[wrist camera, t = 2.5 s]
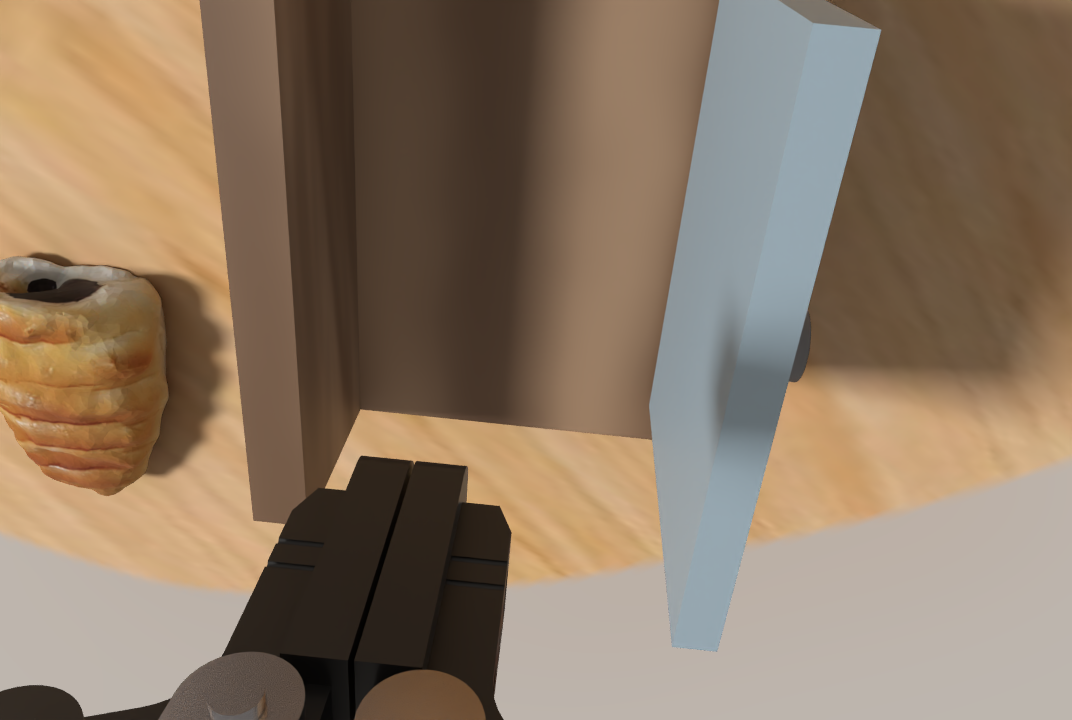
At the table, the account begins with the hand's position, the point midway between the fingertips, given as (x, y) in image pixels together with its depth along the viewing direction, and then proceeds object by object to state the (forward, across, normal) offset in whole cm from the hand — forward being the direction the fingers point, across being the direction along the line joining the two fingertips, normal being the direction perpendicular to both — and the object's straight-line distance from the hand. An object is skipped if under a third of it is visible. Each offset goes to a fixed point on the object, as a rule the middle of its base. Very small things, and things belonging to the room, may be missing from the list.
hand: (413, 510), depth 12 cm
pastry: (+18, +15, +9) cm, 25 cm away
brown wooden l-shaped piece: (+17, 0, 0) cm, 17 cm away
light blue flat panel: (+14, -6, 0) cm, 15 cm away
